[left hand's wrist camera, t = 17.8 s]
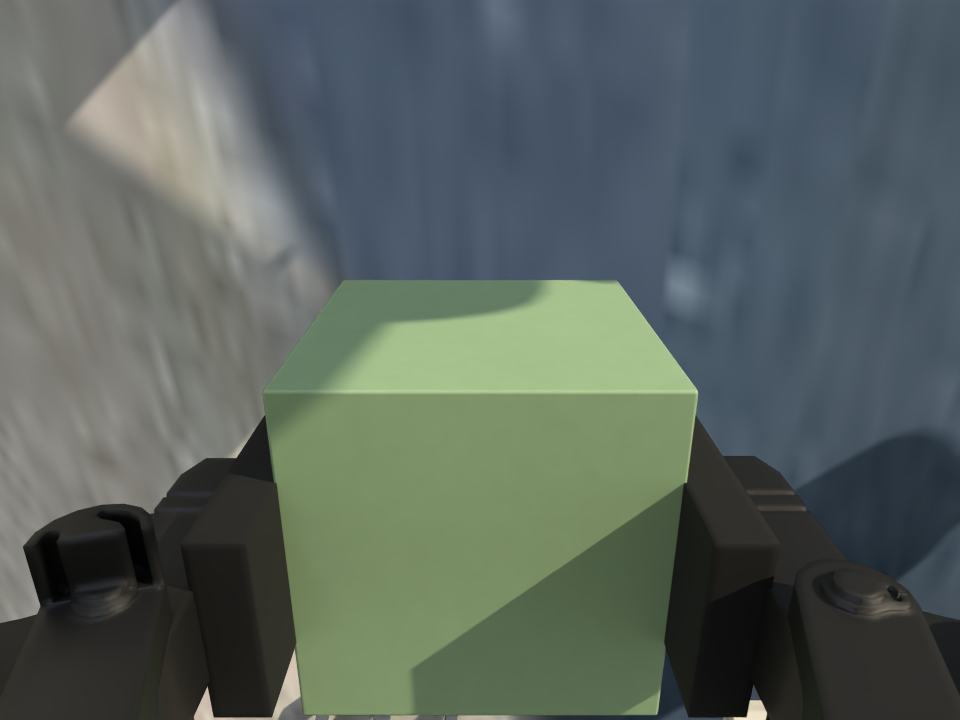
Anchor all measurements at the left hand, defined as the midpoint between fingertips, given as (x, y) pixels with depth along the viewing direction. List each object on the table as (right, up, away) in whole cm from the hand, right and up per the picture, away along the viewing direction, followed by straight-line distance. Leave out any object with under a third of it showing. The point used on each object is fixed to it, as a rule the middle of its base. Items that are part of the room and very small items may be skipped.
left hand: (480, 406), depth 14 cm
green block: (0, 0, 0) cm, 0 cm away
